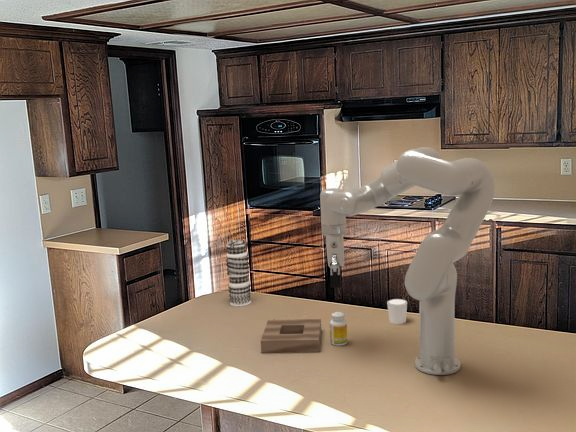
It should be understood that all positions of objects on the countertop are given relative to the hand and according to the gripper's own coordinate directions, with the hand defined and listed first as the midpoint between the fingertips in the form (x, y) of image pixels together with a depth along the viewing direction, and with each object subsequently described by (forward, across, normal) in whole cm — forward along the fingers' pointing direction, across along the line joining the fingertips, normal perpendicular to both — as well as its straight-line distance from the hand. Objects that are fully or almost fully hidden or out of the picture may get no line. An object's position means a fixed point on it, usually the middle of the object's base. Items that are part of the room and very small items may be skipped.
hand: (336, 282), depth 185 cm
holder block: (+20, +2, +15) cm, 25 cm away
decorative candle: (+20, +42, +39) cm, 61 cm away
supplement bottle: (+20, 0, 0) cm, 20 cm away
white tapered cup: (+20, +18, -20) cm, 34 cm away
